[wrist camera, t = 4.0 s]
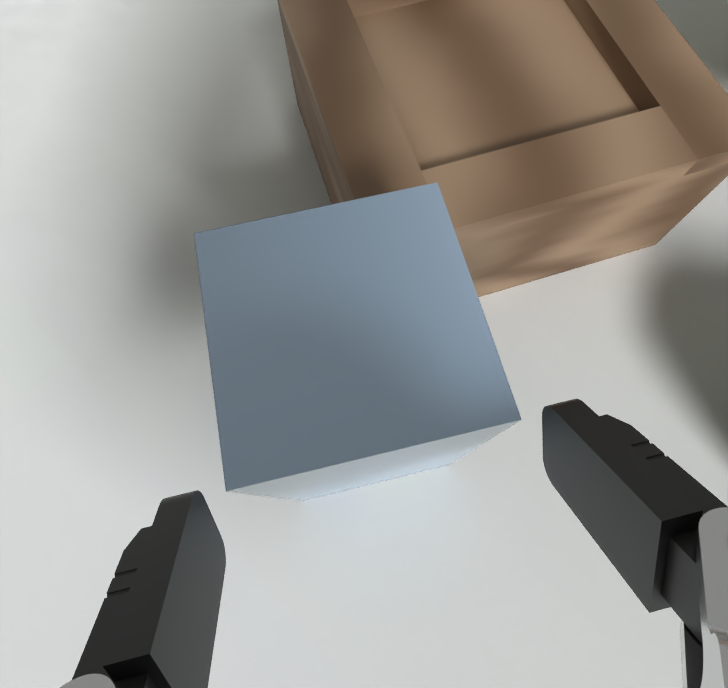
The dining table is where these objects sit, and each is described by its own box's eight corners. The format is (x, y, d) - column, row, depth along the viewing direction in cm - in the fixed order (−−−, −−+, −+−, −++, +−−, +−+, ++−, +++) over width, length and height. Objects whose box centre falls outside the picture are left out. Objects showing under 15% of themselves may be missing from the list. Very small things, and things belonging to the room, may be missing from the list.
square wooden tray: (530, 49, 27) (579, -96, 20) (651, 247, 22) (764, 140, 16) (298, 108, 26) (272, -26, 19) (374, 330, 21) (373, 251, 15)
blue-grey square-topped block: (409, 331, 21) (437, 182, 11) (448, 465, 19) (521, 420, 9) (278, 361, 20) (194, 233, 11) (302, 501, 18) (225, 491, 9)
